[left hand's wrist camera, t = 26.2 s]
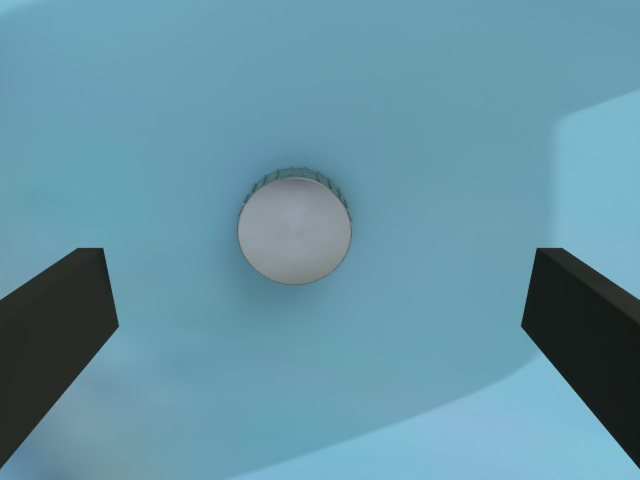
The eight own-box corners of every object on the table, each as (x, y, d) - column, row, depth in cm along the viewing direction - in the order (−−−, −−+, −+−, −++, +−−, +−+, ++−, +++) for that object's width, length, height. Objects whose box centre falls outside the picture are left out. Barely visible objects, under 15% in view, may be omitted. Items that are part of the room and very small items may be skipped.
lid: (325, 149, 19) (328, 156, 17) (362, 245, 21) (369, 263, 19) (224, 190, 19) (214, 202, 17) (269, 280, 21) (265, 301, 19)
